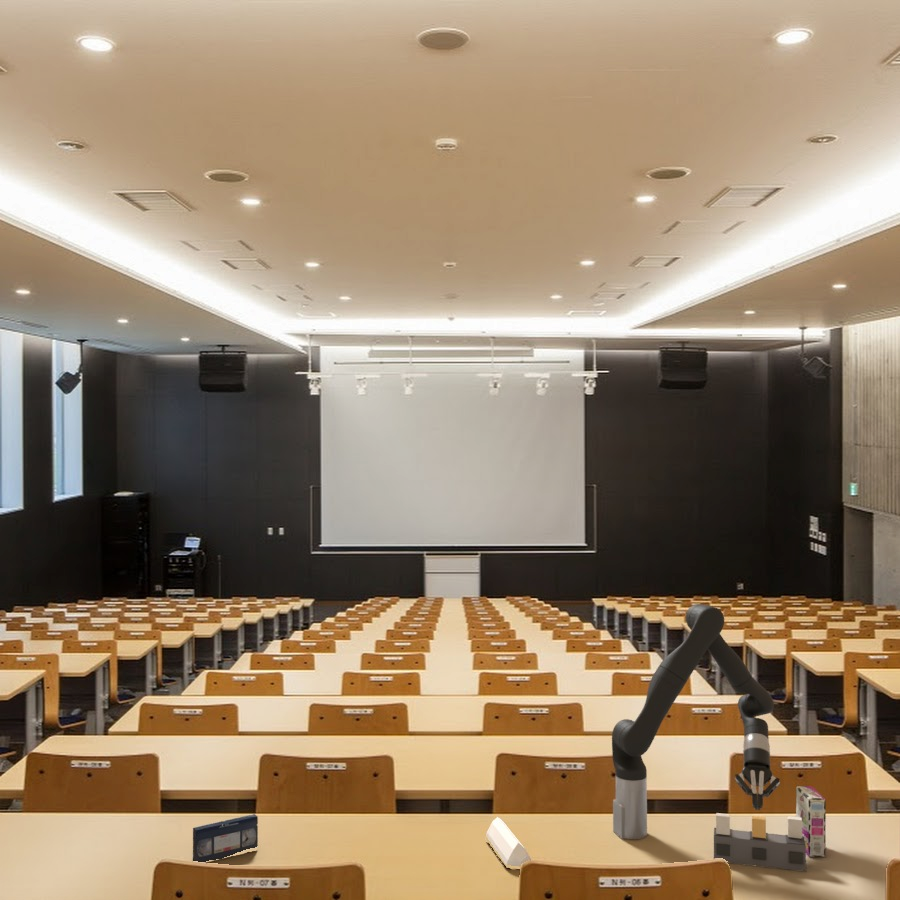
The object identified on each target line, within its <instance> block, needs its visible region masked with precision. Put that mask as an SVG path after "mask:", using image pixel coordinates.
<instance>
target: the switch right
mask: <svg viewBox="0 0 900 900" xmlns="http://www.w3.org/2000/svg"><path fill="white" fill-rule="evenodd" d="M787 835H788V837H792V838H802V818H801V817H796V816H787Z"/></svg>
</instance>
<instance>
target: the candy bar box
mask: <svg viewBox="0 0 900 900" xmlns="http://www.w3.org/2000/svg"><path fill="white" fill-rule="evenodd" d="M795 788H796V789H795V791H796V795H795V796H796V797H795V798H796V799H795V803H796V804H795V805H796V807H795V811H796V813H795V817H801V818H802V837H804V839H805V844H806V856H808V858H826V850H827V849H826V848H827V847H826V845H827V844H826V839H827V838H826V824H827V822H826V819H827V817H826V815H827V814H826V812H827V811H826V801H827V800H826V798H825V797H824V796H823V795H821V793H820V792H818V790H816V789H815V788H814V787H813V786H809V785H808V786H807V785H806V786H805V785H804V786H799V785H798V786H796V787H795Z"/></svg>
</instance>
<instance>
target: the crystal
mask: <svg viewBox="0 0 900 900" xmlns="http://www.w3.org/2000/svg"><path fill="white" fill-rule="evenodd" d="M486 837H487V838H488V840H489V841H490V842H491V844H492V845H493V847H494V848H495V850H496V851H497V852H498V854H499V855H500V857H501V858H502V860H503V861H504V863H505V864H506V865H511V866H519V867H520V866H521V864H522V863H524V862H526V861H528V860H531V861H532V858H531V856H530V855H529V853H528V851H527V849H526V848H525V847H524V845H523V844H522V843H521V842H520V840H519V839H518V838H517V837H516V836H515V834H514V833H513V831H511V829H510V828H509V827H508V825H507V824H506V823H505V822H504V821H503V820H502V819H501V818H500V817H498V816H496V817H495V819H493V820H492V822H491V823H490V825H489V827H488V830H486V834H485V838H486Z"/></svg>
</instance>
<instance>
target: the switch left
mask: <svg viewBox="0 0 900 900" xmlns="http://www.w3.org/2000/svg"><path fill="white" fill-rule="evenodd" d="M730 816H731V814H728V813H719V812H716V813H715V818H716V819H715V823H716V824H715V826H716V827H715V828H716V834H724V835H730V829H731V823H730V822H731V820H730V819H731V817H730Z"/></svg>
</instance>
